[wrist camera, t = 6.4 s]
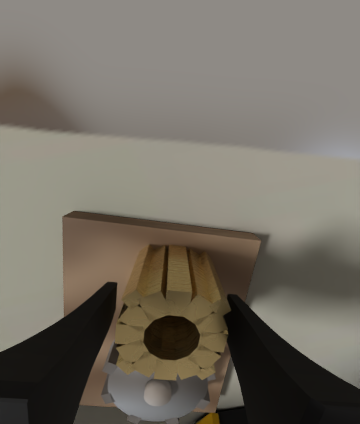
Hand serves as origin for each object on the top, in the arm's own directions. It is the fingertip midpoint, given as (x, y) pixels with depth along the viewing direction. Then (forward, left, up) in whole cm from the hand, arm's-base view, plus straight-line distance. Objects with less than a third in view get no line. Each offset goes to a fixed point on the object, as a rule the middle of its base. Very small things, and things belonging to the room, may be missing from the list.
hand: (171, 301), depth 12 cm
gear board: (-5, +1, -4) cm, 6 cm away
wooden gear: (0, 0, -2) cm, 2 cm away
